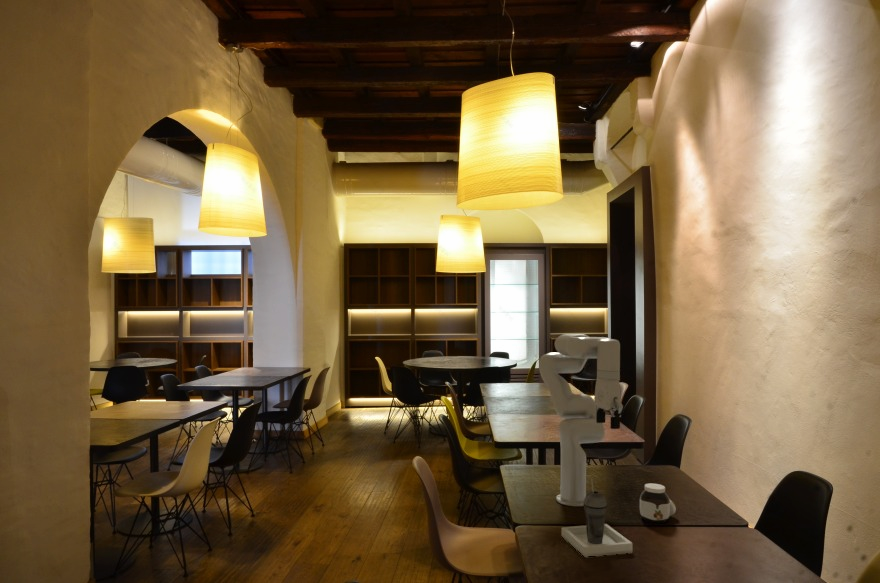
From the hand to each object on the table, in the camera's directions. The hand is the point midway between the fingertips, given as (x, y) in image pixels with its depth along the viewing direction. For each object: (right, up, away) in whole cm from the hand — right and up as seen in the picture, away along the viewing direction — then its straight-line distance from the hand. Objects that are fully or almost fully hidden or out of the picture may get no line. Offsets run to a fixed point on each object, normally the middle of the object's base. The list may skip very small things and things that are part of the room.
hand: (607, 425), depth 203 cm
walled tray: (-8, -34, -16) cm, 38 cm away
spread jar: (+20, -35, +8) cm, 41 cm away
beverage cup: (-8, -33, -15) cm, 38 cm away
